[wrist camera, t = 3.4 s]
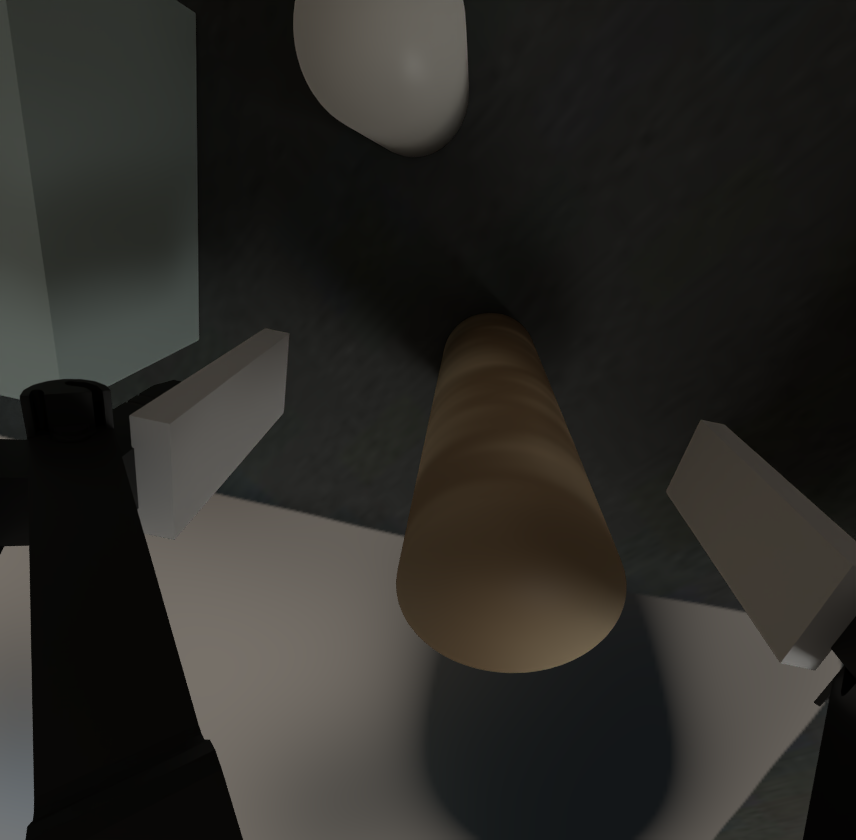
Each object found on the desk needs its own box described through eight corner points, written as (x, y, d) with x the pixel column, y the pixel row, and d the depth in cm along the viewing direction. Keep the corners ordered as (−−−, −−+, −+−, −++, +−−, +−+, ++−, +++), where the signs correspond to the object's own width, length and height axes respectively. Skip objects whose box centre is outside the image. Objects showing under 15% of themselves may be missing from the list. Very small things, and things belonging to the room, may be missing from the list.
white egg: (481, 38, 17) (484, -62, 10) (456, 167, 18) (445, 150, 12) (367, 13, 17) (300, -101, 10) (352, 145, 18) (287, 116, 12)
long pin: (546, 323, 20) (663, 527, 8) (520, 408, 22) (582, 691, 9) (453, 303, 20) (418, 475, 8) (435, 390, 22) (381, 647, 9)
